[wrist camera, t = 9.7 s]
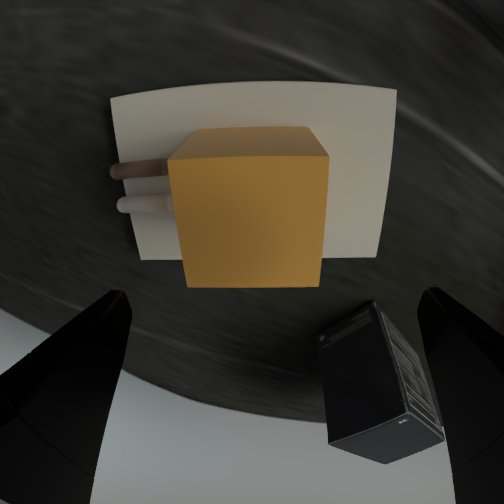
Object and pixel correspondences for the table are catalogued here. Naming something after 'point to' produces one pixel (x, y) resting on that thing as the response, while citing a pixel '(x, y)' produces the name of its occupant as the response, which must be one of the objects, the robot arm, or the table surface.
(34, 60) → the table surface
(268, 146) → the mustard yellow cube
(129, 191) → the plate
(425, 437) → the small box
